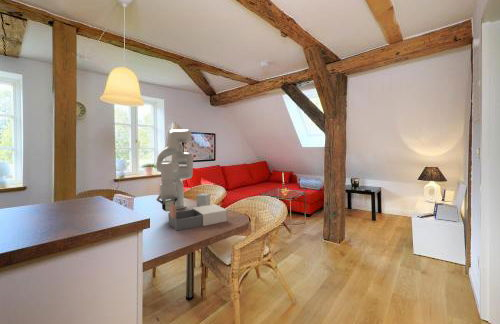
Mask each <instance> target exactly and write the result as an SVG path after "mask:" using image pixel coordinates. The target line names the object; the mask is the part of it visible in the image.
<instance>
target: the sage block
mask: <svg viewBox="0 0 500 324" xmlns="http://www.w3.org/2000/svg"><path fill="white" fill-rule="evenodd" d="M169 204H174V202H173V200H171V199H168V200H165V212H170V206H169Z"/></svg>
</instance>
